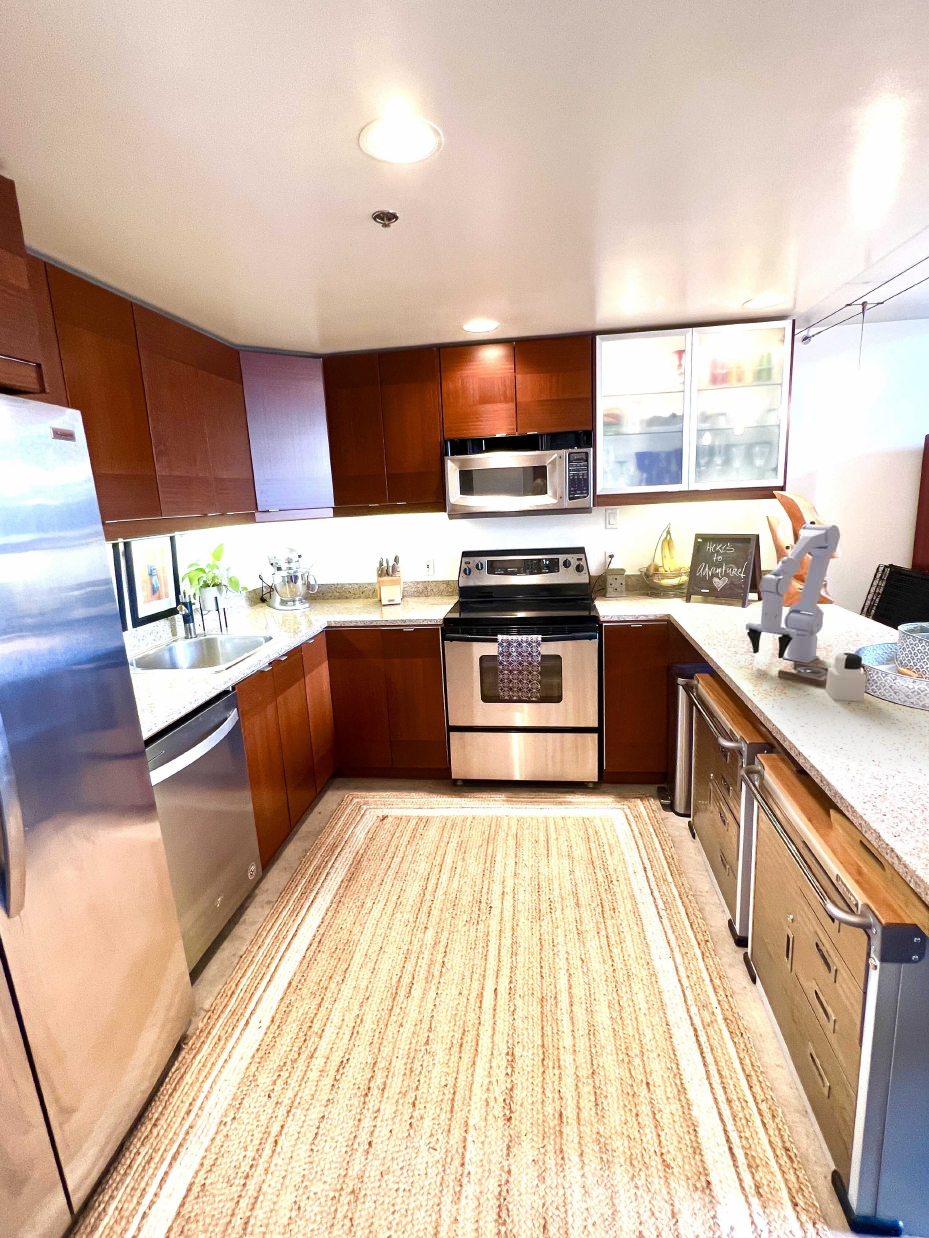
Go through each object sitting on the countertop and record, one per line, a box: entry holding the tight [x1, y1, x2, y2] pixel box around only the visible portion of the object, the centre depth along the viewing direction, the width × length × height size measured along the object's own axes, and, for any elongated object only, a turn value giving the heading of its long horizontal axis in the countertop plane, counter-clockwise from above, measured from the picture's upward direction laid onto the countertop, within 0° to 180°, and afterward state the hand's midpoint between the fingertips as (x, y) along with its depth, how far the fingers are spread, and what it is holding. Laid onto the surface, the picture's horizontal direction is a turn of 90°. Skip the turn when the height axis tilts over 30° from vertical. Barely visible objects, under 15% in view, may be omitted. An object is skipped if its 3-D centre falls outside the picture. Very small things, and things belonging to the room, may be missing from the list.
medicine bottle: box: [825, 652, 867, 702], centre depth 157 cm, size 7×7×12 cm
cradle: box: [777, 661, 829, 688], centre depth 174 cm, size 12×12×2 cm
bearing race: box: [795, 667, 828, 678], centre depth 174 cm, size 8×8×2 cm
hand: (768, 655), depth 183 cm, fingers open, 7 cm apart
